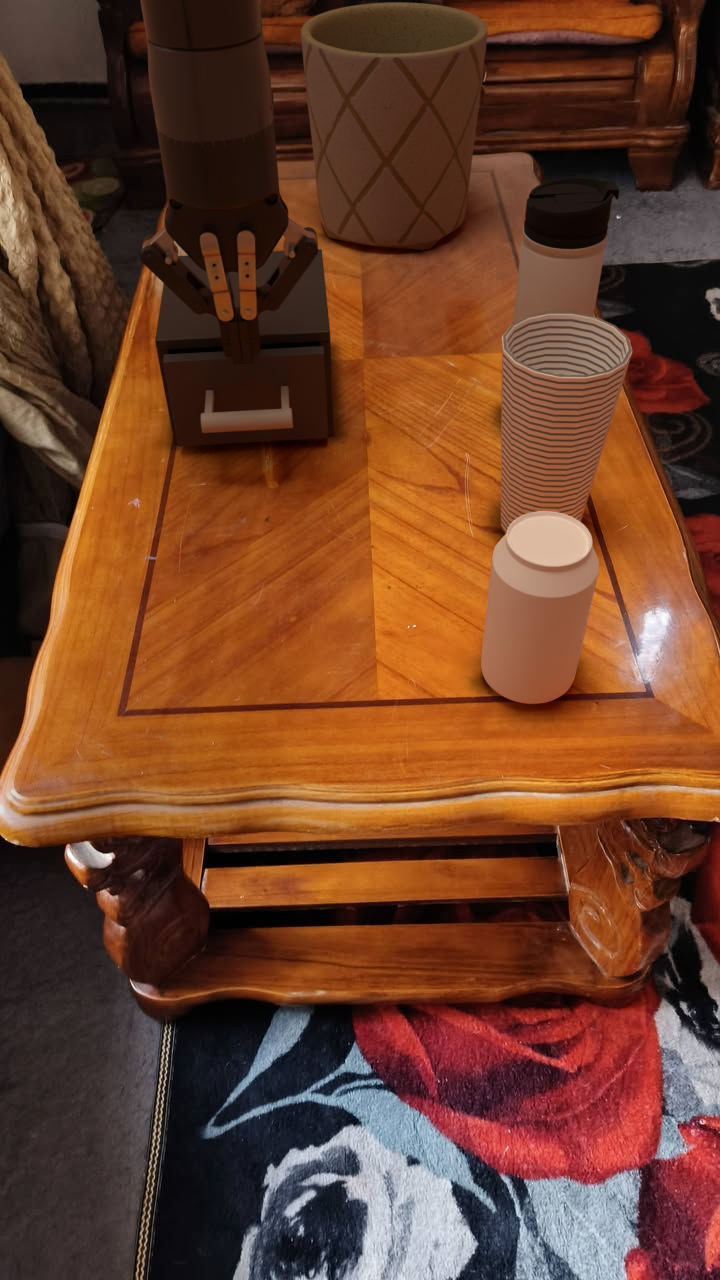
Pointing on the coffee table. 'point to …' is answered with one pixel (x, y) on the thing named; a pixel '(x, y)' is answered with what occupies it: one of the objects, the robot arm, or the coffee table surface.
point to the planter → (393, 119)
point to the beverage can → (538, 606)
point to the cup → (556, 409)
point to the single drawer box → (288, 324)
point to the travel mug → (563, 246)
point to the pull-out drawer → (248, 395)
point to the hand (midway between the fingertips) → (243, 358)
